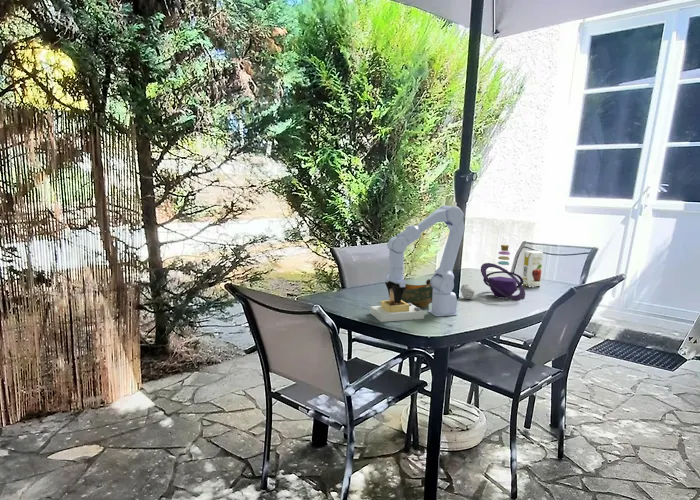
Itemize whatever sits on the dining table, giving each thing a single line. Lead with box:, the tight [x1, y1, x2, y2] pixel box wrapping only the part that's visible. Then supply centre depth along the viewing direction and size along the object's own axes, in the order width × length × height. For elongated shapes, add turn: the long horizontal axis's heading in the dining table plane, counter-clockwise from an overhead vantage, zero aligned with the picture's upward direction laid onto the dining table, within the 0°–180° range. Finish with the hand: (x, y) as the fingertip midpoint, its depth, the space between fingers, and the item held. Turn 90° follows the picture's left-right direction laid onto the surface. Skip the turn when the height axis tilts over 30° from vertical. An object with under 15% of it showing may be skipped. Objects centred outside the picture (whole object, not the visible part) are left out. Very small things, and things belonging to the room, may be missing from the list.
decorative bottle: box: [480, 244, 526, 301], centre depth 215 cm, size 22×21×25 cm
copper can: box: [389, 288, 401, 306], centre depth 179 cm, size 4×4×7 cm
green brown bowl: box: [401, 283, 433, 309], centre depth 198 cm, size 13×20×10 cm, turn 28°
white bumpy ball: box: [460, 283, 475, 300], centre depth 211 cm, size 6×7×7 cm
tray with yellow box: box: [370, 299, 425, 323], centre depth 180 cm, size 18×12×6 cm, turn 108°
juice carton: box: [521, 250, 544, 287], centre depth 241 cm, size 8×9×19 cm
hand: (394, 301), depth 179 cm, fingers closed on copper can, 4 cm apart
